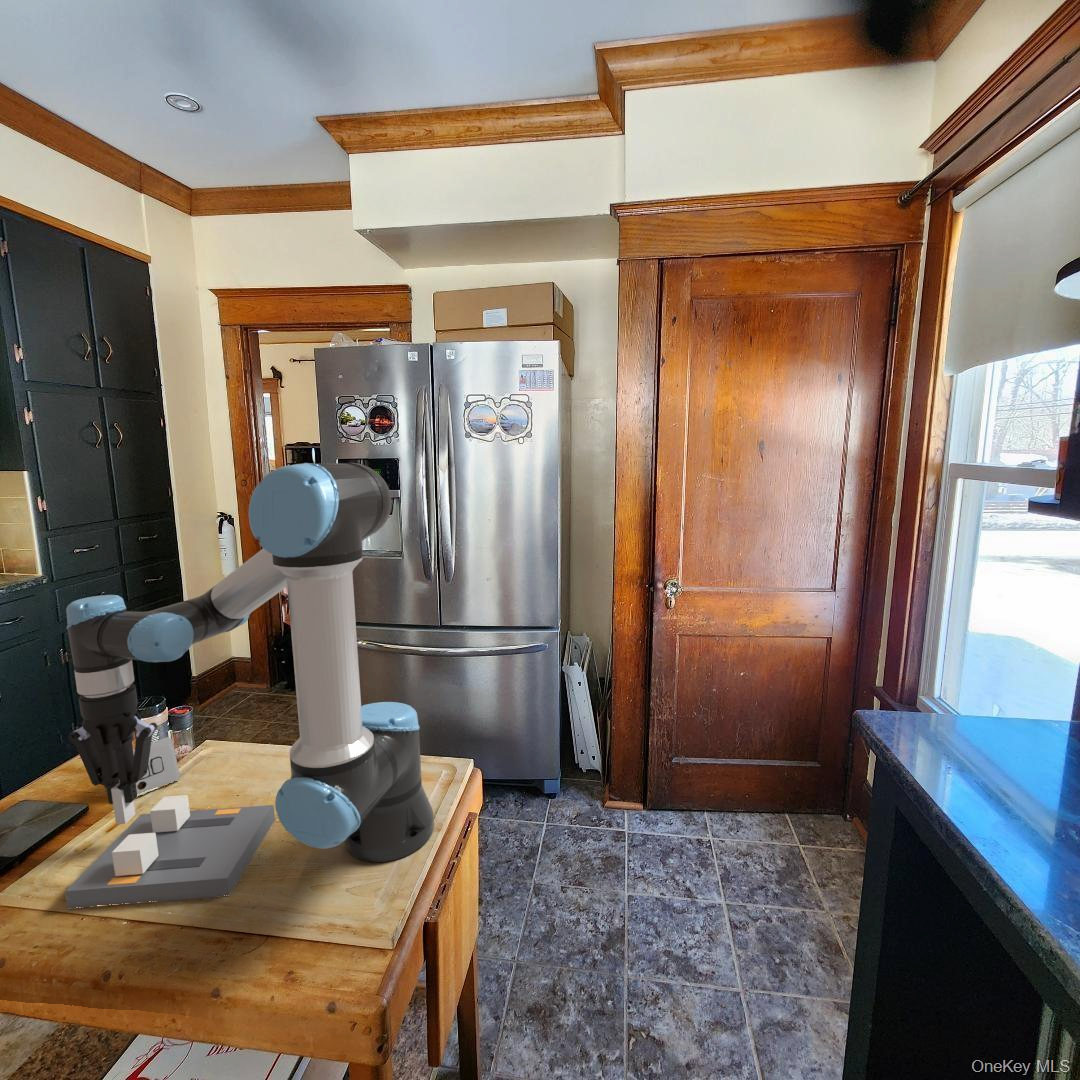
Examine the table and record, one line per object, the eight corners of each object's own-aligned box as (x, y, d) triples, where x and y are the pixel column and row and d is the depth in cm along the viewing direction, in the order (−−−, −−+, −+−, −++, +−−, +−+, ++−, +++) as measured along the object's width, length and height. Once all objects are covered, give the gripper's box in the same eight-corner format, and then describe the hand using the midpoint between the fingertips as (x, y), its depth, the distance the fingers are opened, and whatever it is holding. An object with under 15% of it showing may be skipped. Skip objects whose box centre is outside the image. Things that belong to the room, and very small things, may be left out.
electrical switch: (127, 803, 108) (120, 757, 107) (119, 795, 111) (112, 751, 111) (181, 781, 115) (175, 738, 115) (172, 774, 119) (166, 733, 118)
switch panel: (274, 819, 102) (273, 804, 101) (229, 895, 84) (227, 877, 84) (143, 829, 100) (141, 813, 100) (68, 909, 82) (65, 890, 82)
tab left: (158, 855, 88) (155, 832, 88) (143, 873, 85) (139, 850, 84) (132, 857, 88) (128, 834, 88) (115, 876, 84) (111, 852, 84)
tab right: (190, 815, 98) (187, 795, 98) (177, 830, 94) (174, 809, 94) (166, 817, 98) (163, 796, 97) (152, 832, 94) (150, 810, 93)
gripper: (161, 677, 96) (177, 802, 100) (82, 682, 95) (100, 808, 98) (134, 696, 89) (152, 830, 92) (47, 700, 88) (69, 836, 91)
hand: (125, 818), depth 95 cm, fingers closed
